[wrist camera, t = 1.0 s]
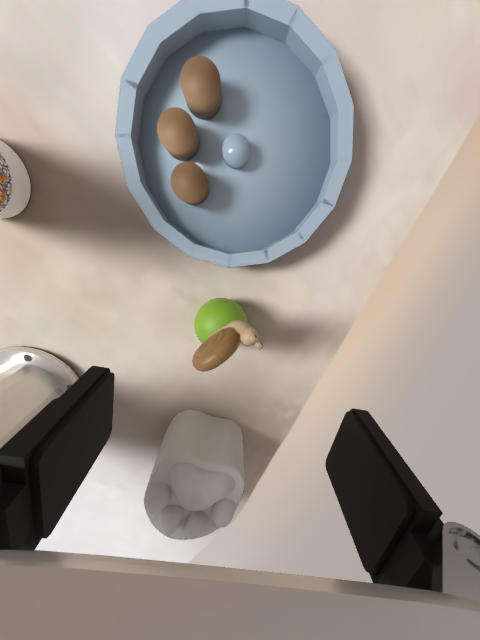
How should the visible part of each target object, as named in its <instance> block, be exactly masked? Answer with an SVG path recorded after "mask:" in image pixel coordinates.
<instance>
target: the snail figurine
mask: <svg viewBox="0 0 480 640" xmlns="http://www.w3.org/2000/svg"><path fill="white" fill-rule="evenodd" d="M195 331H196V335H197V337H198V338H199V340H200V341H201V342H202V345H201V346H200V347H199V348H198V349H197V351H196V352H195V354H194V356H193V360H192V362H193V366H194V367H195V368H196V369H197V370H199V371H209V370H212V369H214V368H216V367H218V366H219V365H221V364H222V363H224V362H225V361H226V360H227V359H228V358H229V357H231V355H232V354H233V353H234V352H235V351H236V349H237V348H238V346H239V344H240V343H241V342H242V343H243V344H245V345H253V344H255V343H256V344H255V347H256V348H257V349H262V348H263V344H262V343H261V342H260V341H259V340H258V339H259V333H258V331H257V330H256V329H255V328H253V327H252V326H251V325H249V324H248V321H247V316H246V314H245V312H244V310H243V309H242V307H241V306H240V305H239V304H237V303H236V302H234V301H232V300H230V299H226V298H217V299H213V300H210V301H208V302H207V303H205V304H204V305H203V306H202V307H201V308H200V309H199V311H198V313H197V315H196V318H195ZM257 341H258V342H257Z"/></svg>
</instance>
